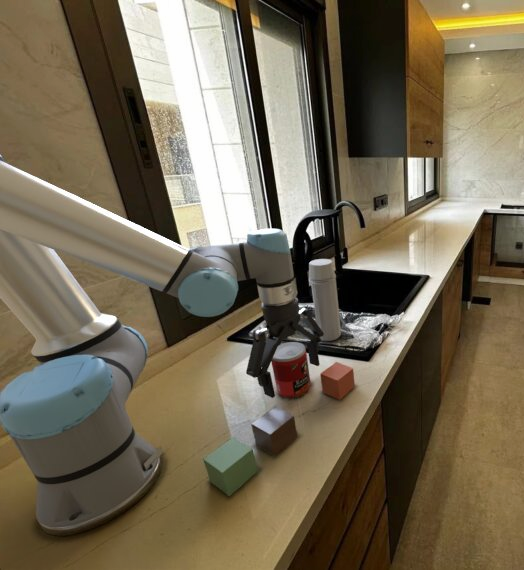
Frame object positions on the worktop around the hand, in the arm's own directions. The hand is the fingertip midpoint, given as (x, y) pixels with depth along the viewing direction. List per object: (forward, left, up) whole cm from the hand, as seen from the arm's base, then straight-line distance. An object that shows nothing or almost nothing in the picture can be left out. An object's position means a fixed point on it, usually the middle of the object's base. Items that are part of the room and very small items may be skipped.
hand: (293, 378), depth 80 cm
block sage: (+10, -22, -3) cm, 24 cm away
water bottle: (-10, +22, -3) cm, 24 cm away
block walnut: (+10, -13, -3) cm, 17 cm away
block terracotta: (+10, +5, -3) cm, 11 cm away
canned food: (0, 0, -3) cm, 3 cm away
